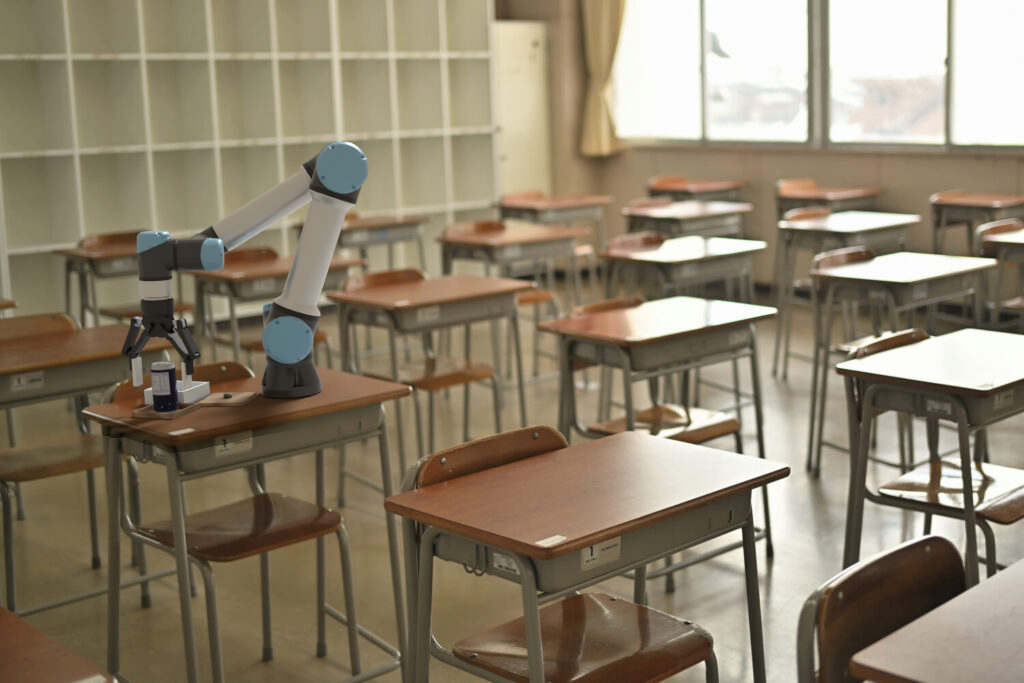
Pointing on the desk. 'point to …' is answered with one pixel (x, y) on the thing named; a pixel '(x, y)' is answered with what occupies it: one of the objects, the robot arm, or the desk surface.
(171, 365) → the beverage can
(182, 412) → the frame
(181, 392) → the tray
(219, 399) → the lid
